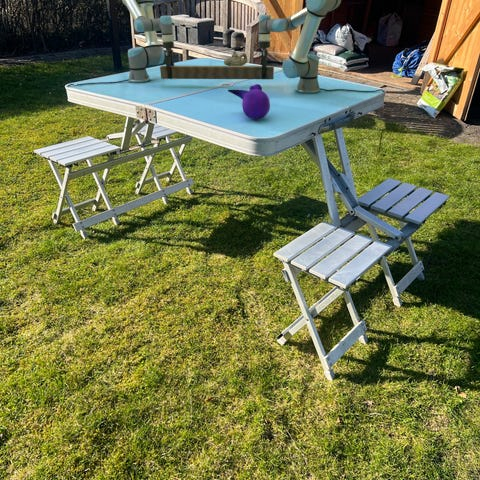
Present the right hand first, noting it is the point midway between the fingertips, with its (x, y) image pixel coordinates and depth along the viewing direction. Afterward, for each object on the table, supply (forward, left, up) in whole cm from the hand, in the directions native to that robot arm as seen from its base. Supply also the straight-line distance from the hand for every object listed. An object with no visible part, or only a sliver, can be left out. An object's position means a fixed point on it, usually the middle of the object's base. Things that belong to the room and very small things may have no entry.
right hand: (264, 77), depth 307 cm
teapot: (-1, -71, -7) cm, 72 cm away
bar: (+30, -13, -1) cm, 33 cm away
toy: (+32, +67, -7) cm, 74 cm away
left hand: (+60, -27, 0) cm, 65 cm away
